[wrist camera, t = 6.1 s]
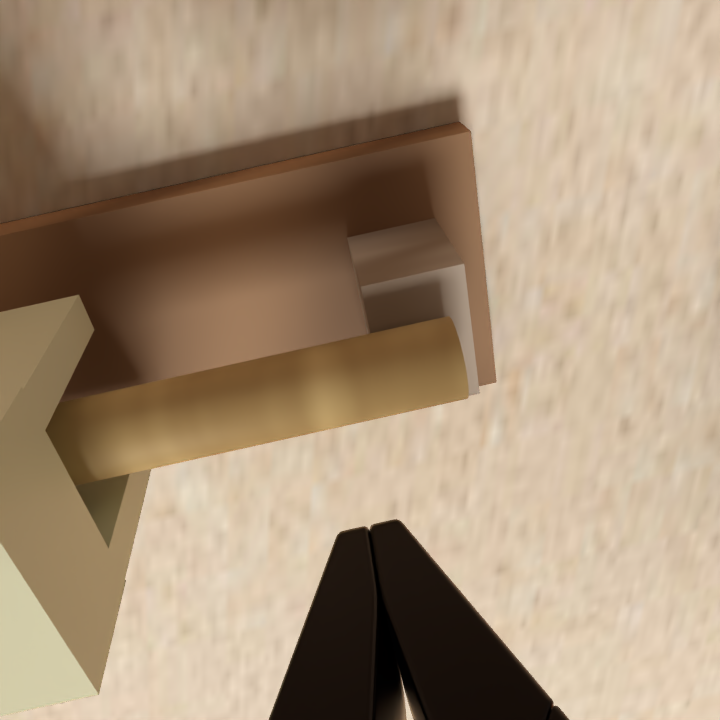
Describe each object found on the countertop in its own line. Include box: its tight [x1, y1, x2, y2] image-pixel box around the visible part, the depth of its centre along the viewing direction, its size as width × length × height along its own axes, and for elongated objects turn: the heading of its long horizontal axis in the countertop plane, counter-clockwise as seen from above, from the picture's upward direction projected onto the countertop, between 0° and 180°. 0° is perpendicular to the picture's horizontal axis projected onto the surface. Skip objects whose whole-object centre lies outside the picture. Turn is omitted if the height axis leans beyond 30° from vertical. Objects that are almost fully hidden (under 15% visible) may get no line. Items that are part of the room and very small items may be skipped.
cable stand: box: [0, 122, 496, 486], centre depth 14 cm, size 17×6×6 cm, turn 101°
